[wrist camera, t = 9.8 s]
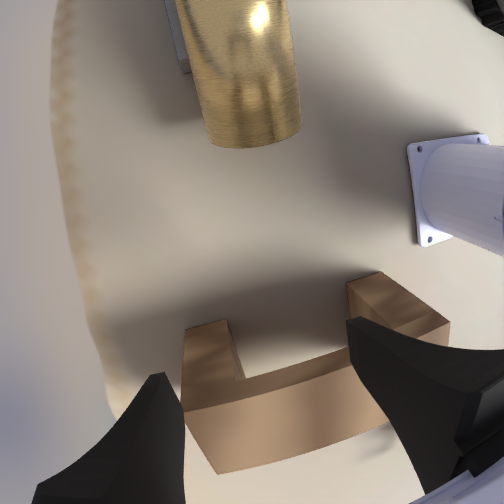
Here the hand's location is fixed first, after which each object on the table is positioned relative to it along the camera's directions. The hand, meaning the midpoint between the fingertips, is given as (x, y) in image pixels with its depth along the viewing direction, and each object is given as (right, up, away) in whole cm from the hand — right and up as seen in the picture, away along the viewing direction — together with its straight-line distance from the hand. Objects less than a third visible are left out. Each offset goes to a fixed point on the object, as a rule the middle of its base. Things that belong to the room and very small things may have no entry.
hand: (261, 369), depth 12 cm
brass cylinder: (-2, +17, +2) cm, 17 cm away
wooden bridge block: (+3, -2, +12) cm, 12 cm away
